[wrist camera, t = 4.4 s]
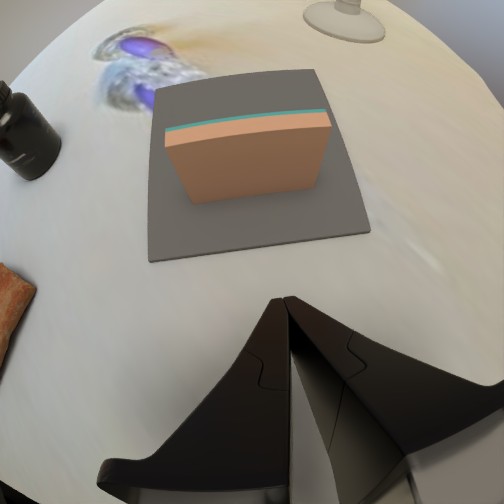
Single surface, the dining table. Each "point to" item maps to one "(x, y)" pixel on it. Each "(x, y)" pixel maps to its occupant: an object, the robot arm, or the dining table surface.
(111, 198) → the dining table surface
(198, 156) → the tile
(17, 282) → the ceramic shard
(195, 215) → the mat
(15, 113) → the supplement bottle
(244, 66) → the dining table surface
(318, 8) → the candlestick
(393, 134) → the dining table surface
